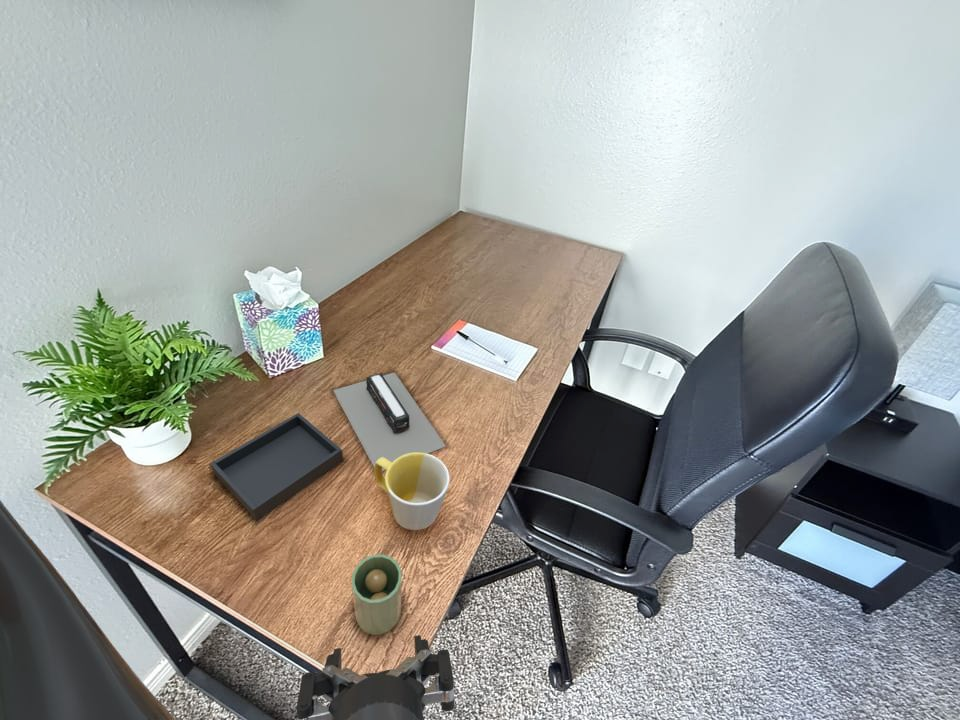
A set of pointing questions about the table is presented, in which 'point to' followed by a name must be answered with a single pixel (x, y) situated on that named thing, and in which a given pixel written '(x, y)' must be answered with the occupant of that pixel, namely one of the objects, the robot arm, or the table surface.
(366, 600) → the tumbler
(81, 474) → the table surface
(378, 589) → the ball
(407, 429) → the grey flat rectangular panel
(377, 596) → the ball
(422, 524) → the mug
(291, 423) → the tray
